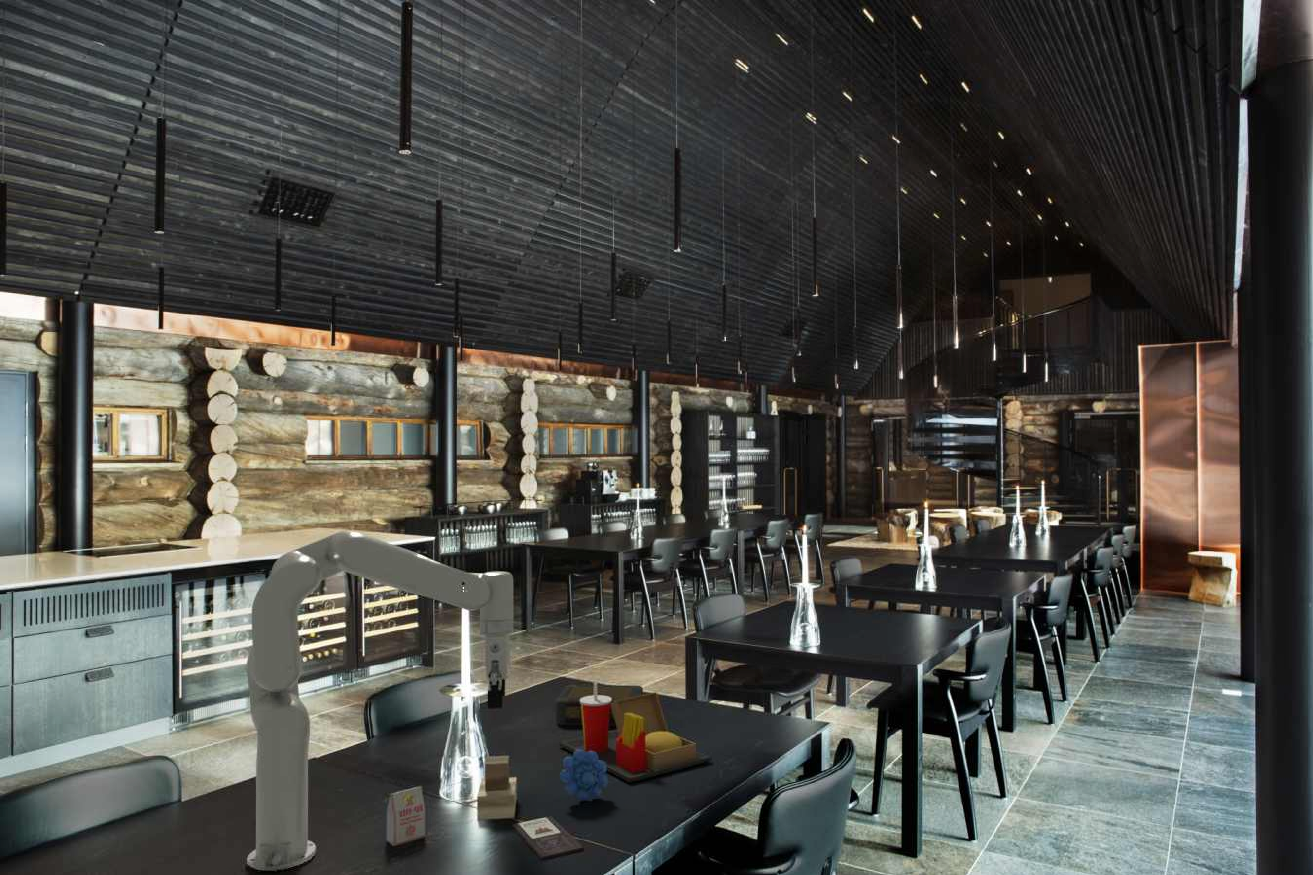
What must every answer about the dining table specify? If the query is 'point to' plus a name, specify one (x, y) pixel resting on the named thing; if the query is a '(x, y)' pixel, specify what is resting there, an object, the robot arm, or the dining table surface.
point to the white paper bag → (405, 816)
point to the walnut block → (497, 773)
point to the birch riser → (497, 801)
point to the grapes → (584, 774)
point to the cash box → (571, 695)
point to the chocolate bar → (547, 837)
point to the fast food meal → (632, 737)
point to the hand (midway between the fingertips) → (496, 702)
